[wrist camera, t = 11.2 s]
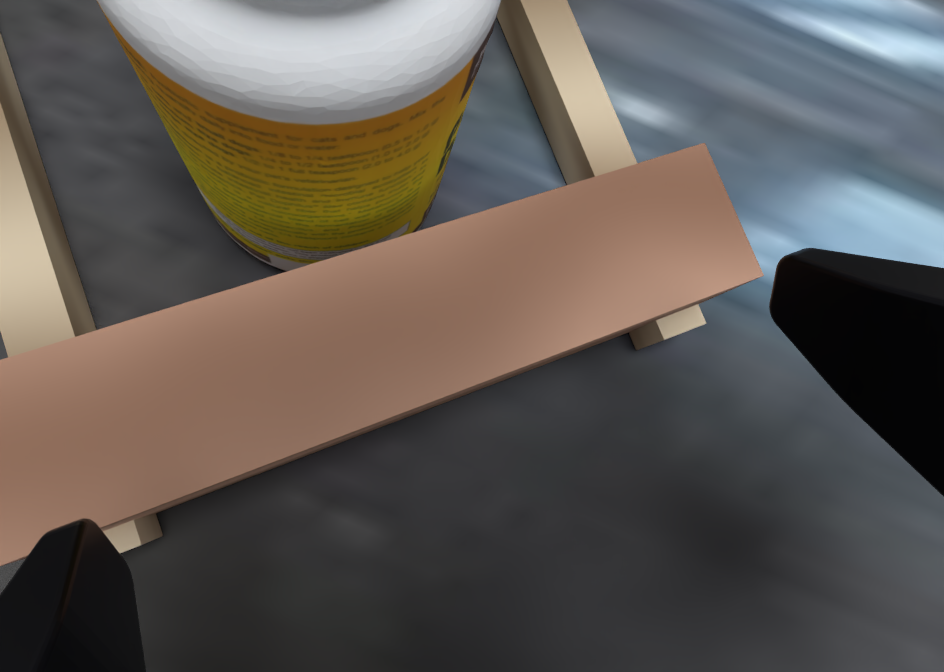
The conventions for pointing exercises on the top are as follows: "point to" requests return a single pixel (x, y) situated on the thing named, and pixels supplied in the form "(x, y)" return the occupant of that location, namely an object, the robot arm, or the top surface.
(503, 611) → the top surface
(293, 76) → the supplement bottle
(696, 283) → the rail track
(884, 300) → the robot arm
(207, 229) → the top surface
